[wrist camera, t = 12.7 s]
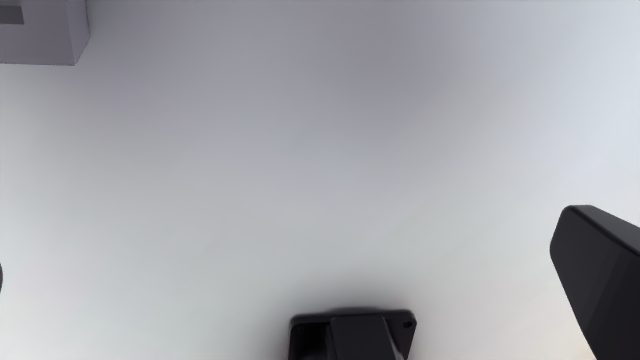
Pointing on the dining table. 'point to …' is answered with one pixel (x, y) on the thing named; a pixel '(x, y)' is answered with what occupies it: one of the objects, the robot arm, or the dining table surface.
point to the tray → (43, 31)
